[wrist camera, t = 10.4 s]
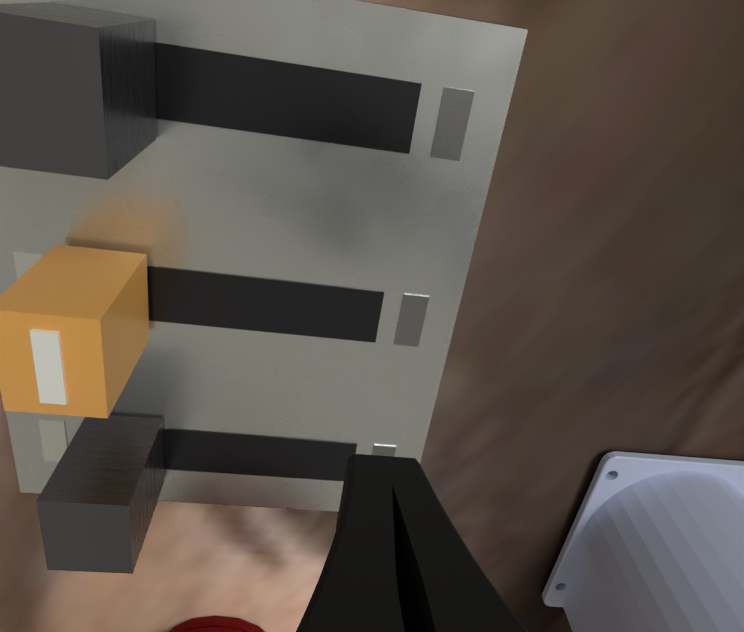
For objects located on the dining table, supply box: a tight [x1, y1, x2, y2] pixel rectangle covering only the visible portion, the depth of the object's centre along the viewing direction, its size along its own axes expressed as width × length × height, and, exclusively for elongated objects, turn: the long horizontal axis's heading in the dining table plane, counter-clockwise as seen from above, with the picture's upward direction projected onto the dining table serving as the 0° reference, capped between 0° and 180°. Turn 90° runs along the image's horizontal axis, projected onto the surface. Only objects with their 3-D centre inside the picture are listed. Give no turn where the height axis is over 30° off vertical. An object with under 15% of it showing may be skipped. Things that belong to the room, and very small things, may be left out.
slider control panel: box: [0, 0, 528, 573], centre depth 17 cm, size 17×14×6 cm
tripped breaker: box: [0, 244, 149, 418], centre depth 15 cm, size 3×2×4 cm
